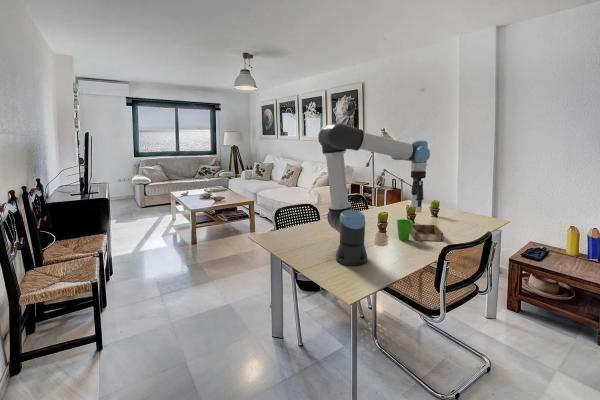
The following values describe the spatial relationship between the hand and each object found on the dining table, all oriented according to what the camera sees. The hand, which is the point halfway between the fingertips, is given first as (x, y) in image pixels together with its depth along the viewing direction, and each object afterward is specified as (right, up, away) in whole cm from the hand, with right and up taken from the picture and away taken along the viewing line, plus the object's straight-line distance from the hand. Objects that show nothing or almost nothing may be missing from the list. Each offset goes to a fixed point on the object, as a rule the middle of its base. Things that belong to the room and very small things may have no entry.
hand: (416, 209), depth 177 cm
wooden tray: (+10, -16, +14) cm, 24 cm away
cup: (-4, -18, +9) cm, 20 cm away
